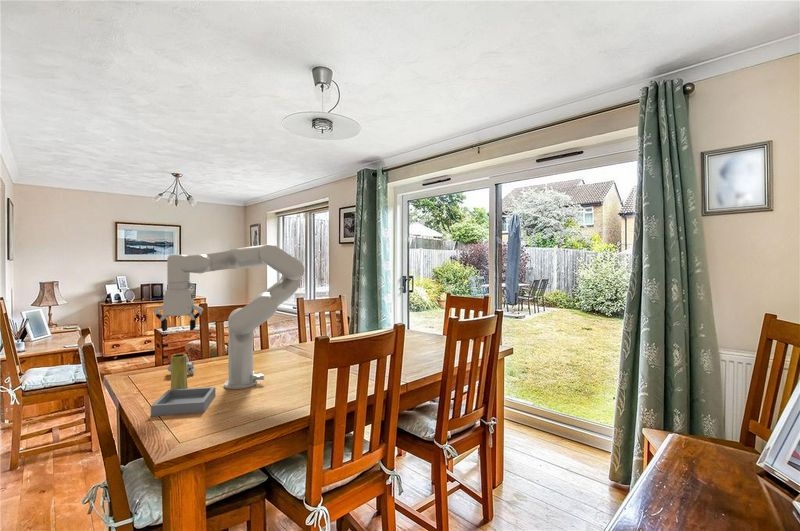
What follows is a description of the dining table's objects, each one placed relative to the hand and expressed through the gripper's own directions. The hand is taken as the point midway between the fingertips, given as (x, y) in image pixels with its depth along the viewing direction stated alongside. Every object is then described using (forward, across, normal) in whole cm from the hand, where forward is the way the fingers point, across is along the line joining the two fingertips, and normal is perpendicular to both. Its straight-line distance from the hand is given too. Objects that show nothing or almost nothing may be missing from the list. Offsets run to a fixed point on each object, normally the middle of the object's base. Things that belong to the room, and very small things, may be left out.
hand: (178, 330), depth 149 cm
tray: (+24, -7, +16) cm, 30 cm away
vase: (+24, 0, 0) cm, 24 cm away
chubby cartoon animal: (+24, +6, -25) cm, 35 cm away
